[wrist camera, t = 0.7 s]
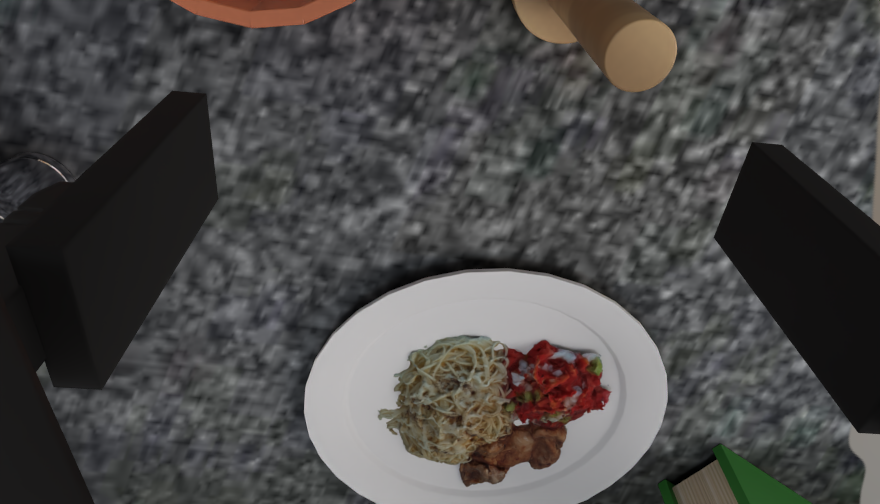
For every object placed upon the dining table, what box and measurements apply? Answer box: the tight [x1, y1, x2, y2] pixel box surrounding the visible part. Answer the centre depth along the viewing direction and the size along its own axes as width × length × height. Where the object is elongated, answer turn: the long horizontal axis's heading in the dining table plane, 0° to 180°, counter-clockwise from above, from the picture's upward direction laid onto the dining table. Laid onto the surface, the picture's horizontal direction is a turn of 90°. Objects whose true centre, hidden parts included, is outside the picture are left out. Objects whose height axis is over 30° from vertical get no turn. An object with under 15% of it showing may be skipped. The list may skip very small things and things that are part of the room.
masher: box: [512, 0, 677, 92], centre depth 28 cm, size 6×6×15 cm
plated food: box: [304, 268, 668, 504], centre depth 51 cm, size 30×30×3 cm
